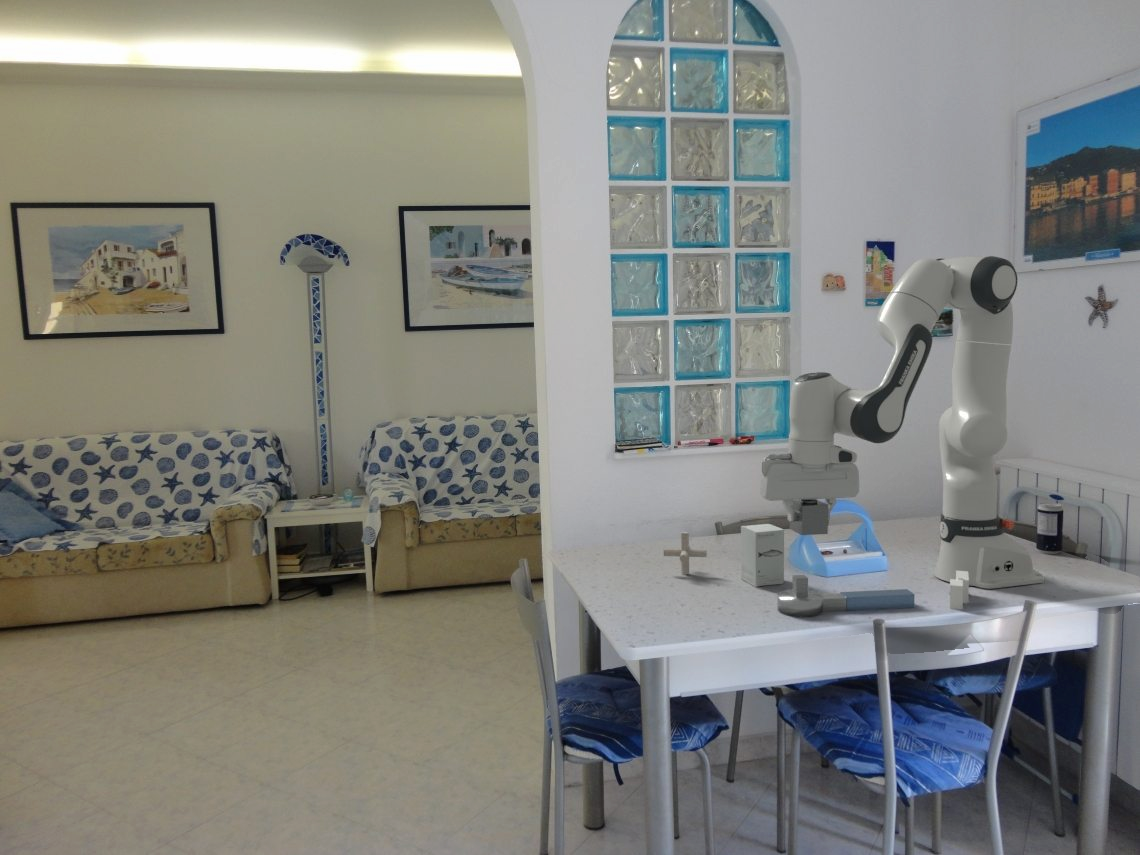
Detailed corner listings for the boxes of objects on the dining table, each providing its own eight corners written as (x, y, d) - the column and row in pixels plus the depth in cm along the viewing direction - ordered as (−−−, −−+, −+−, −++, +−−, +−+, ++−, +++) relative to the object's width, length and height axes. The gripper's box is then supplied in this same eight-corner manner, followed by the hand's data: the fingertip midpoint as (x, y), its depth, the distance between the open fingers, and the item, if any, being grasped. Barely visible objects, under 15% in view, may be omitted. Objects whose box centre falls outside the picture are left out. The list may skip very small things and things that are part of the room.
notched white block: (956, 590, 189) (957, 564, 189) (1004, 604, 180) (1005, 577, 179) (908, 602, 182) (908, 576, 182) (955, 617, 173) (955, 589, 172)
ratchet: (900, 598, 184) (901, 565, 183) (920, 611, 175) (920, 577, 174) (772, 604, 182) (772, 571, 182) (785, 618, 173) (785, 583, 173)
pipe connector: (705, 580, 201) (705, 537, 200) (662, 579, 203) (661, 537, 202) (707, 568, 211) (707, 528, 210) (666, 567, 213) (665, 527, 212)
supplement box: (755, 587, 194) (754, 532, 193) (740, 579, 202) (739, 525, 200) (785, 584, 196) (785, 529, 195) (769, 575, 203) (768, 522, 202)
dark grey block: (814, 527, 182) (815, 496, 181) (827, 534, 176) (828, 501, 176) (789, 528, 181) (790, 497, 180) (801, 535, 175) (802, 502, 175)
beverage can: (1066, 554, 214) (1068, 506, 213) (1043, 555, 214) (1044, 507, 213) (1054, 548, 219) (1055, 501, 218) (1031, 549, 220) (1033, 502, 218)
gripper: (768, 456, 172) (766, 525, 173) (864, 453, 175) (862, 521, 177) (756, 452, 178) (754, 519, 179) (848, 449, 182) (846, 514, 183)
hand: (808, 520), depth 178 cm, fingers closed on dark grey block, 6 cm apart
